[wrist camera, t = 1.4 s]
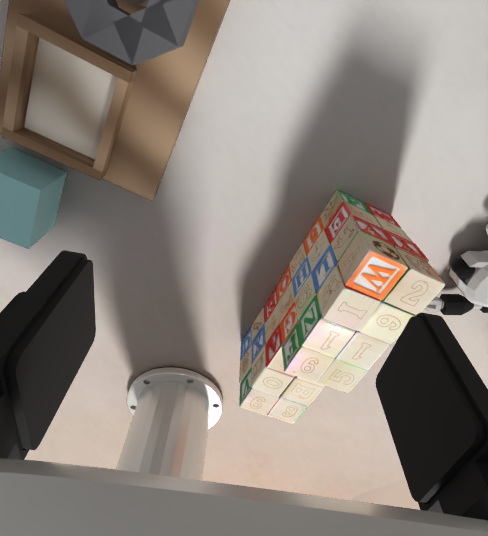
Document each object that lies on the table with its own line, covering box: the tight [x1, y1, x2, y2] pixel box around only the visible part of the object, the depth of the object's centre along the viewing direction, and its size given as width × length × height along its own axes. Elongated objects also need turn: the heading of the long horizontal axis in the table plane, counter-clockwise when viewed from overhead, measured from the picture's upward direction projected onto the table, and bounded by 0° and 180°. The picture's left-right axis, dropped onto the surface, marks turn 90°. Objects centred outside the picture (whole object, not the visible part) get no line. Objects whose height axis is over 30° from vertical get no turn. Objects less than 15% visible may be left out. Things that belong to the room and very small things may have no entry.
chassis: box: [0, 0, 230, 201], centre depth 27 cm, size 19×14×4 cm
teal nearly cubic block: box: [0, 148, 67, 249], centre depth 33 cm, size 6×5×5 cm
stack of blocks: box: [239, 190, 445, 424], centre depth 35 cm, size 21×6×12 cm, turn 155°
